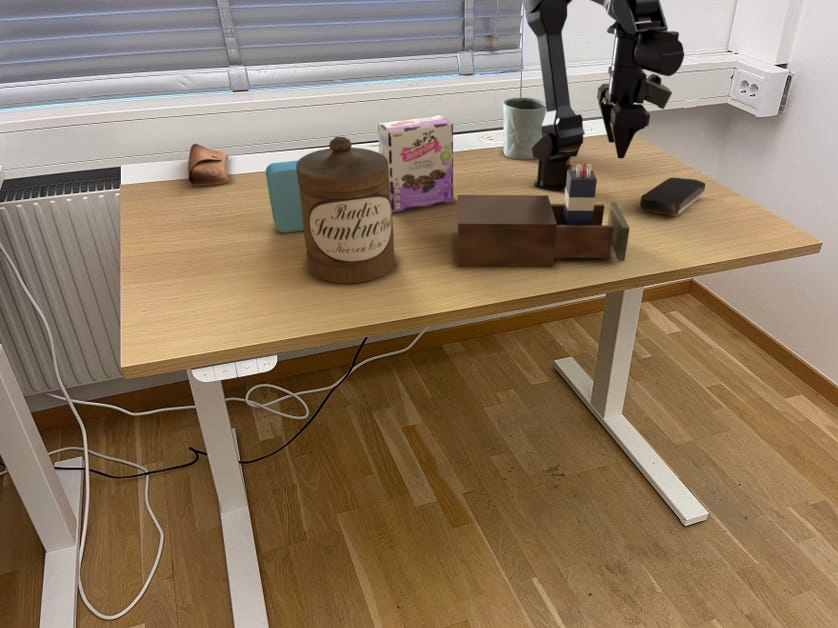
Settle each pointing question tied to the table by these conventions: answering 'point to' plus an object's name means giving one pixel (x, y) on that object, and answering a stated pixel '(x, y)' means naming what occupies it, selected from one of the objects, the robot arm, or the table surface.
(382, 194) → the wooden container
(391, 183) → the candy box
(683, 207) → the black sponge
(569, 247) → the drawer
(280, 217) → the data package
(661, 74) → the robot arm
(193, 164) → the sunglasses case
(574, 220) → the straw box
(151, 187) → the table surface
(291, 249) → the table surface
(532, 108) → the green ceramic pot
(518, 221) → the cabinet
